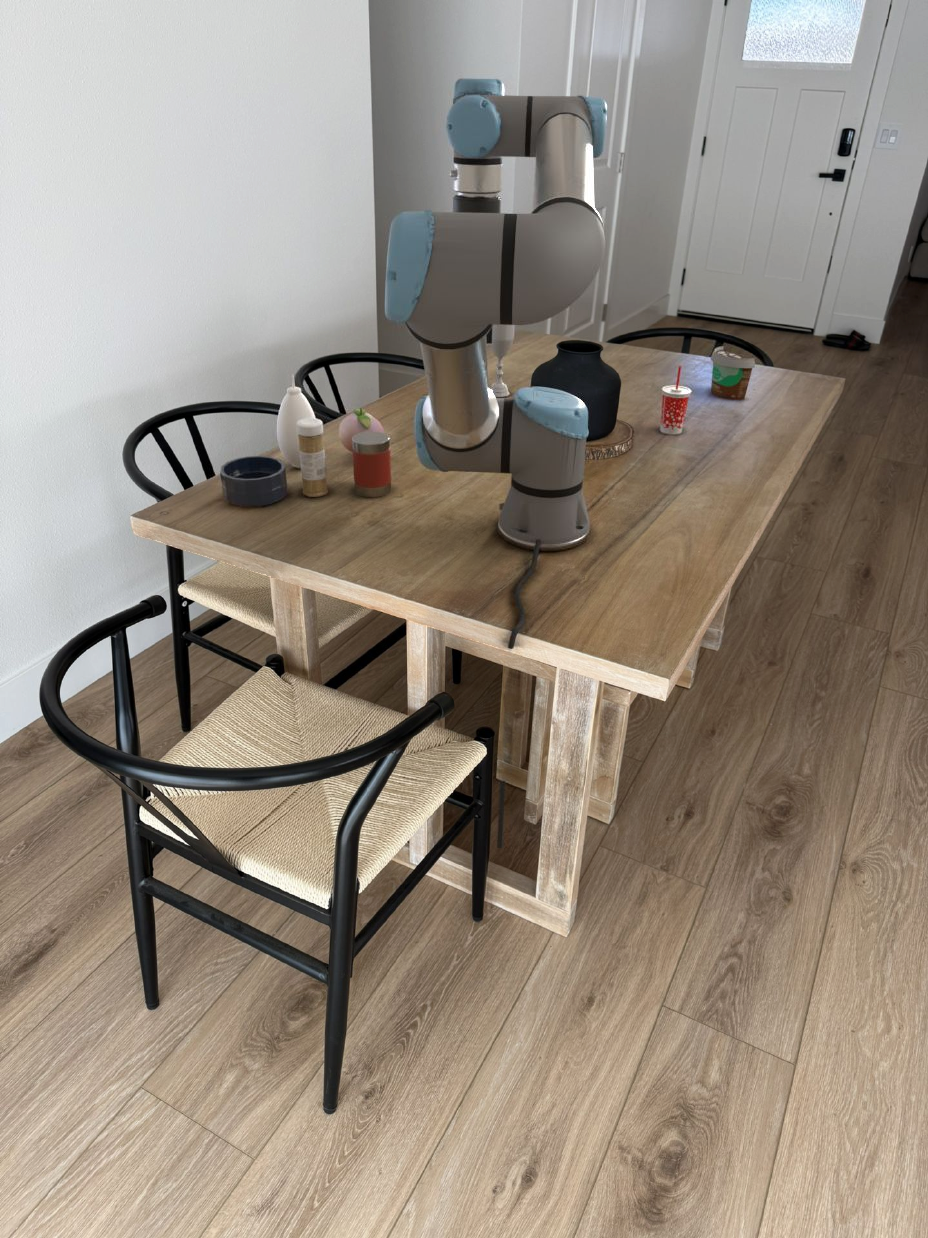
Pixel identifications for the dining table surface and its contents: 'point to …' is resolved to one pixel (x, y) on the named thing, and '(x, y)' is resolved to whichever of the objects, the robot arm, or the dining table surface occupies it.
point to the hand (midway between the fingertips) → (474, 333)
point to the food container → (730, 374)
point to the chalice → (501, 354)
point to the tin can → (371, 464)
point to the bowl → (254, 481)
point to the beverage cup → (674, 407)
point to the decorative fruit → (357, 426)
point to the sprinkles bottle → (312, 457)
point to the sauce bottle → (292, 423)
